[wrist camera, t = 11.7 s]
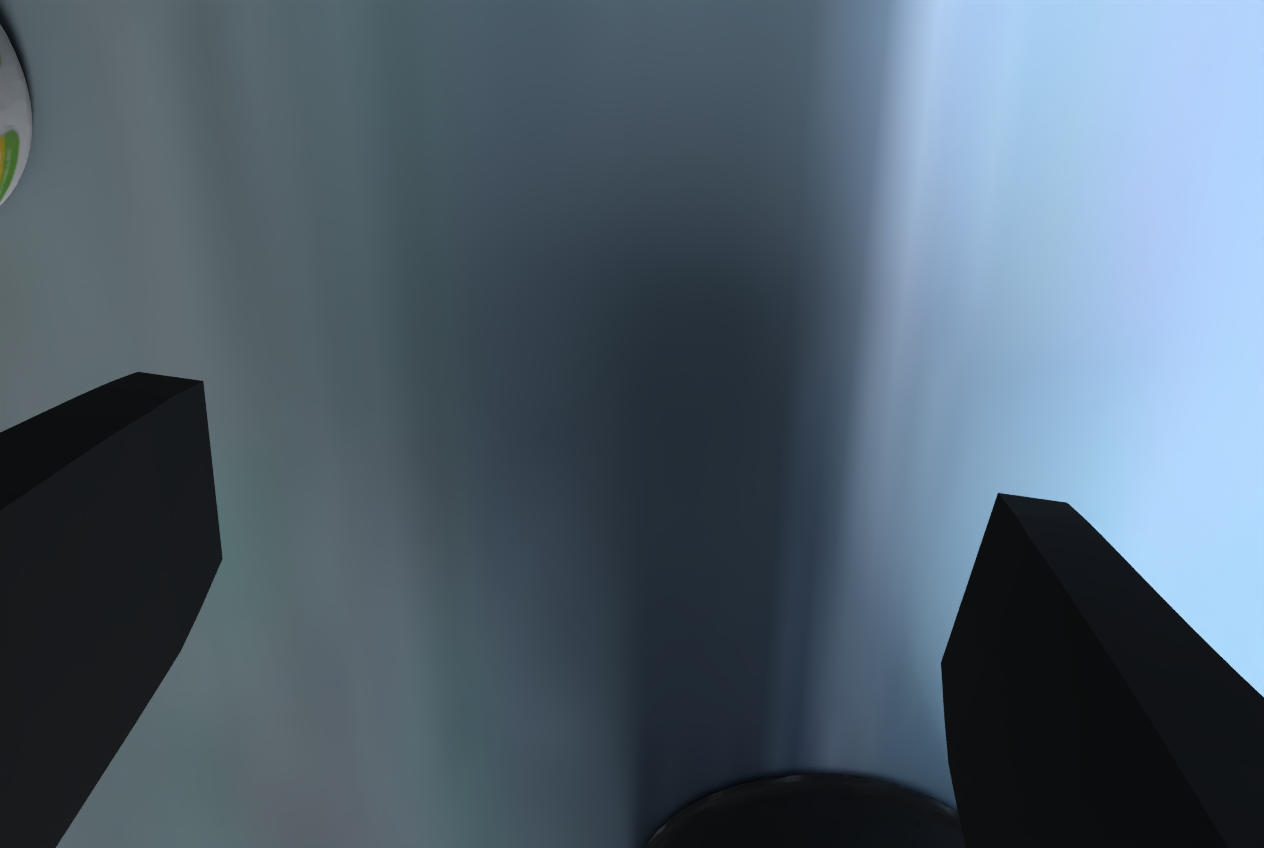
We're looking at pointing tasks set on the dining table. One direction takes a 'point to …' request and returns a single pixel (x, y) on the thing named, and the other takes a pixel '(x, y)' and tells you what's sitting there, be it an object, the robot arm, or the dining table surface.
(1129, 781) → the robot arm
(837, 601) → the dining table surface
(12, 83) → the supplement bottle
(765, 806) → the milk frother
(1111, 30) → the dining table surface
